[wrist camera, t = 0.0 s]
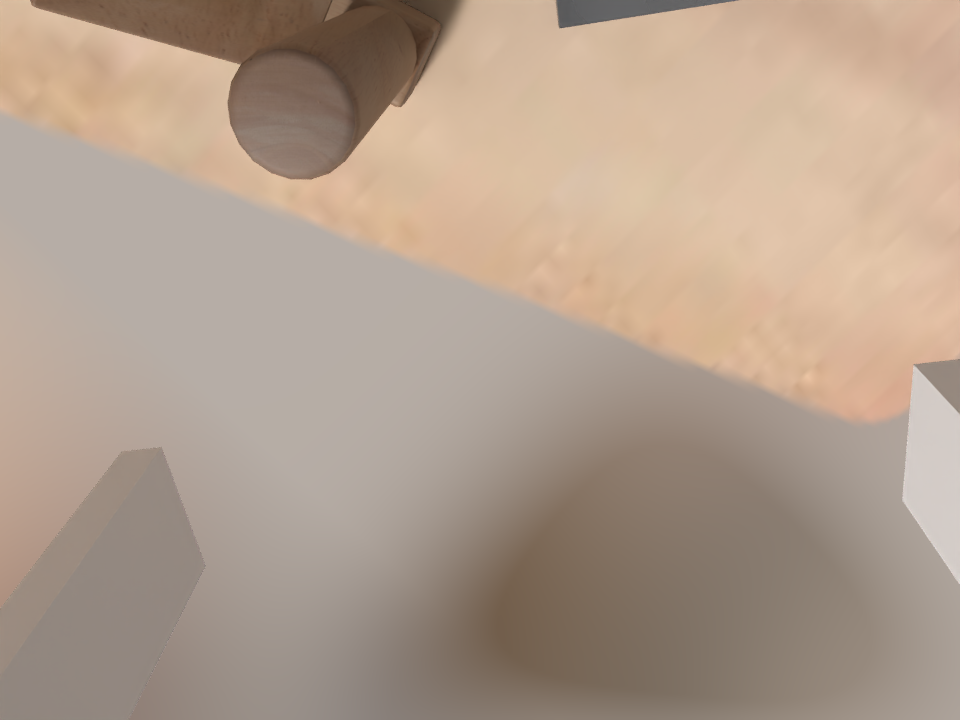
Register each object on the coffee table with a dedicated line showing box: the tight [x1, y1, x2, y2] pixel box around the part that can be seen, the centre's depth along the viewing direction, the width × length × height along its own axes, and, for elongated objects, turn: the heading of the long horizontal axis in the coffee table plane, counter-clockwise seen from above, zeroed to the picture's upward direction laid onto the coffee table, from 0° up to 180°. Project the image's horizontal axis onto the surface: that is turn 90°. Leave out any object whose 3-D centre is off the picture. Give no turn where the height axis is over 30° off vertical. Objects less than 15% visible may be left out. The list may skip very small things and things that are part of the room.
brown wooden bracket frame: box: [30, 0, 441, 179], centre depth 30 cm, size 4×11×18 cm, turn 63°
